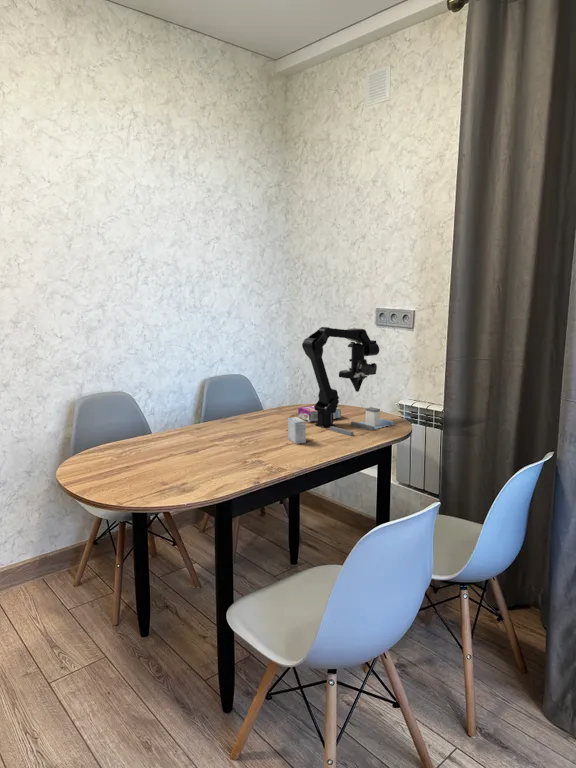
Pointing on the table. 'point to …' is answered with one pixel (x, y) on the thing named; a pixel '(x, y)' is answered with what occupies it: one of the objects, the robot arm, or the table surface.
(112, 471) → the table surface
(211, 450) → the table surface
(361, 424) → the rail tray
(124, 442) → the table surface
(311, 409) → the candy bar box
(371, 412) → the grey chamfered block
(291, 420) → the medicine box
